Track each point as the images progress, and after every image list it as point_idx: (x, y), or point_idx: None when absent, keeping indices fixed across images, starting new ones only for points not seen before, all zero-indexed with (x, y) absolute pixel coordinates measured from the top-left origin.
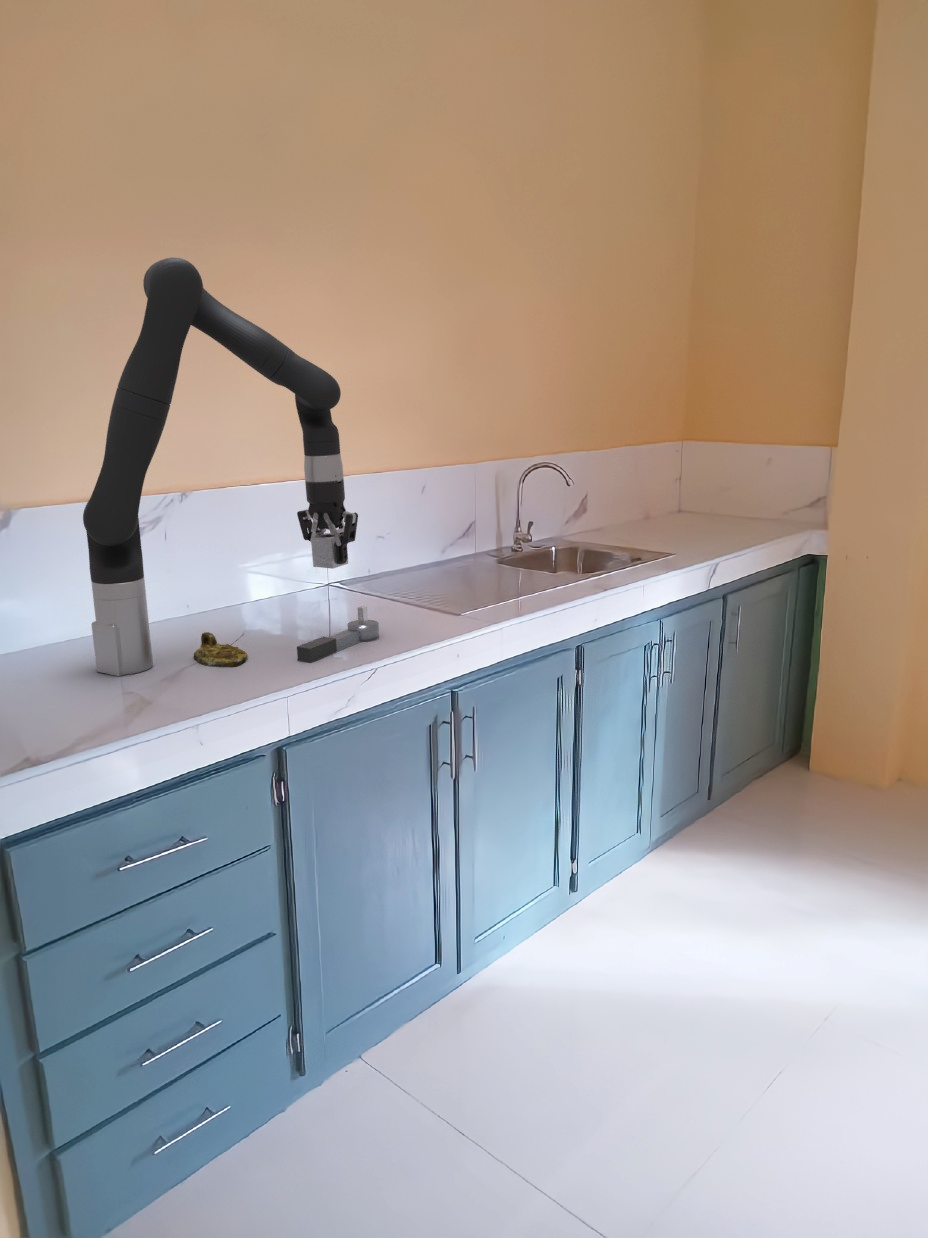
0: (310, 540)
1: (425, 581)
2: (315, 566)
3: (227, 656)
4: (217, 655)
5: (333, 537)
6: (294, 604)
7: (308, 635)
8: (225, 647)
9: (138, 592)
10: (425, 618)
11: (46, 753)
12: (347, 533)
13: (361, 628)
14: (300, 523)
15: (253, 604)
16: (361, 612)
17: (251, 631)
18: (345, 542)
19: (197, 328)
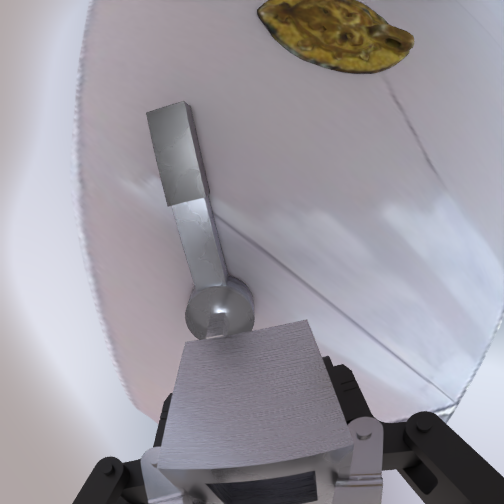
0: (382, 426)
1: None
2: (293, 323)
3: (292, 7)
4: (317, 6)
5: (187, 487)
6: (460, 338)
7: (327, 242)
8: (350, 41)
9: None
10: None
11: None
12: (83, 497)
13: (194, 296)
14: (487, 472)
15: (501, 297)
16: (212, 330)
17: (433, 190)
18: (110, 460)
19: None
